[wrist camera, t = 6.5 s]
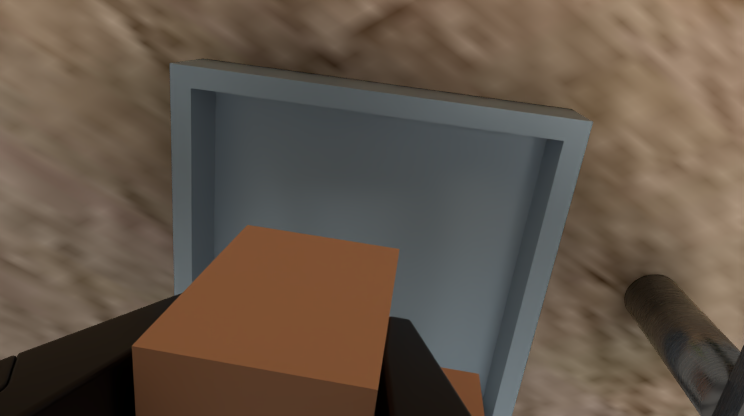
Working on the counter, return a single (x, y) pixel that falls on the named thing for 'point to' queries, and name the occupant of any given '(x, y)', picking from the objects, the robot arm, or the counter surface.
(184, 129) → the tray
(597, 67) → the counter surface
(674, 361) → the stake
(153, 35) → the counter surface
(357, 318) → the tan rectangular frame
